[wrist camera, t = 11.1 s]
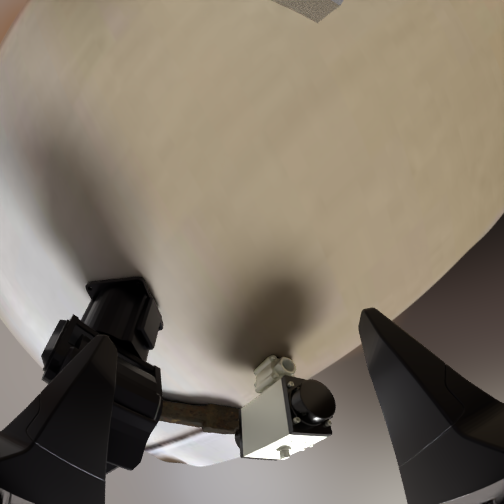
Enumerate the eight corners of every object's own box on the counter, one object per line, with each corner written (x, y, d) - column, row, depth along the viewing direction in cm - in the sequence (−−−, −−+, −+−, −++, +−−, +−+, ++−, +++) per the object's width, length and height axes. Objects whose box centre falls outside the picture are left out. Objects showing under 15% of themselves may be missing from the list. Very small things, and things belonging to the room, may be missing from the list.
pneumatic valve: (231, 382, 33) (234, 469, 22) (286, 330, 28) (306, 437, 17) (267, 391, 34) (276, 471, 24) (325, 343, 29) (352, 438, 19)
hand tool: (122, 395, 35) (116, 420, 31) (119, 384, 33) (112, 410, 29) (239, 414, 39) (240, 439, 35) (245, 404, 37) (247, 431, 33)
